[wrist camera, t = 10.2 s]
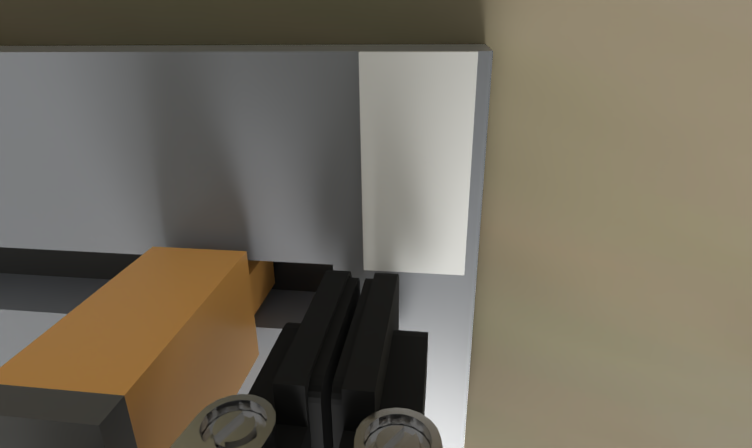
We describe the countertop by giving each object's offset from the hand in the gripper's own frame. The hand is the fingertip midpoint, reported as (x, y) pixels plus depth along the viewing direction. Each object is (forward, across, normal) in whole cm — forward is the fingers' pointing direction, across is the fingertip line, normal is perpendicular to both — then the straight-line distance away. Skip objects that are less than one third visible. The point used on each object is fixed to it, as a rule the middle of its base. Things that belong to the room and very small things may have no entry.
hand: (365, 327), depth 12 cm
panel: (+4, +10, 0) cm, 10 cm away
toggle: (+4, +4, 0) cm, 5 cm away
